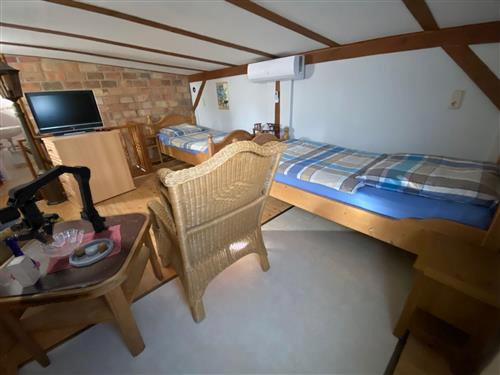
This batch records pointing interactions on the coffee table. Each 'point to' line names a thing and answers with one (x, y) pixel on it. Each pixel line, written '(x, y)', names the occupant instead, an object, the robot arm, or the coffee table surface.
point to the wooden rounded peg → (102, 247)
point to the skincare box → (24, 271)
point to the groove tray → (91, 253)
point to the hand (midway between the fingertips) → (48, 240)
